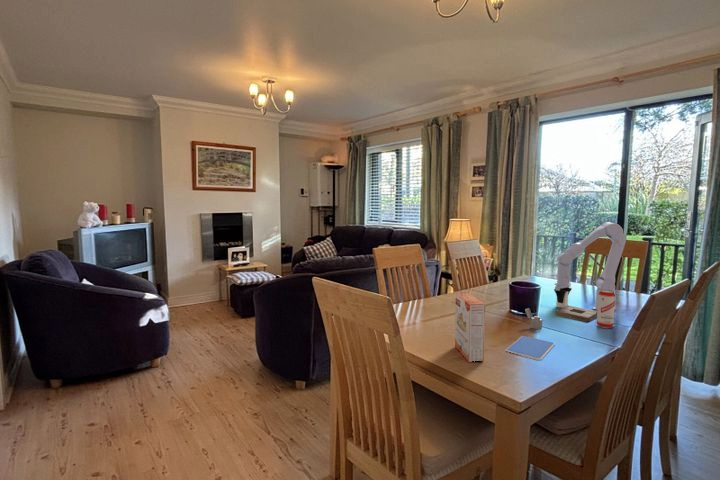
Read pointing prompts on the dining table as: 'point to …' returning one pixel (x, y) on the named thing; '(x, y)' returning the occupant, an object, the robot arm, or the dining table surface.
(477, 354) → the cracker box
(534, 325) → the lighter
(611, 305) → the beer can
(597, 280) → the robot arm
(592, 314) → the slotted board
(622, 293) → the dining table surface
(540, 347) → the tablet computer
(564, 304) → the peg
